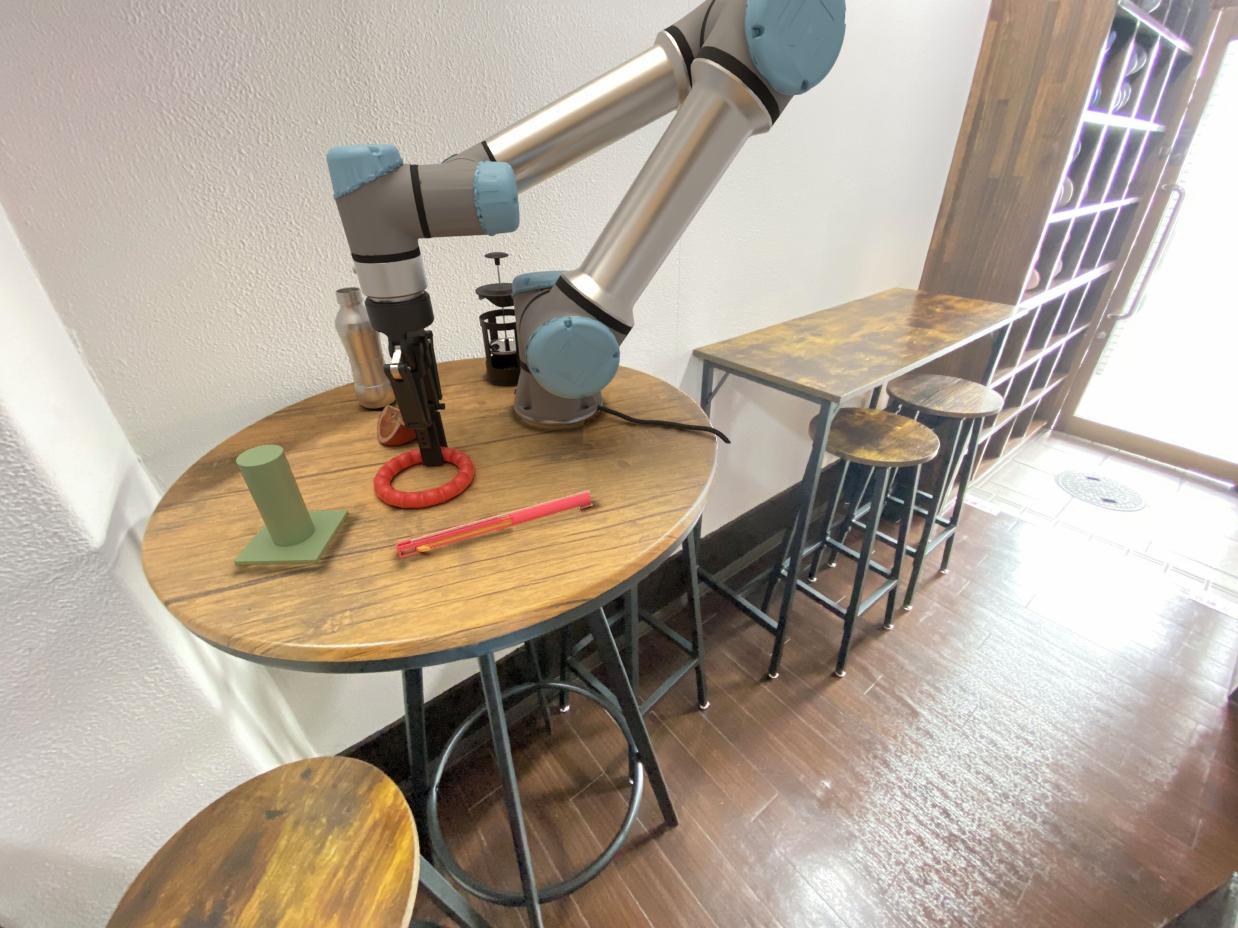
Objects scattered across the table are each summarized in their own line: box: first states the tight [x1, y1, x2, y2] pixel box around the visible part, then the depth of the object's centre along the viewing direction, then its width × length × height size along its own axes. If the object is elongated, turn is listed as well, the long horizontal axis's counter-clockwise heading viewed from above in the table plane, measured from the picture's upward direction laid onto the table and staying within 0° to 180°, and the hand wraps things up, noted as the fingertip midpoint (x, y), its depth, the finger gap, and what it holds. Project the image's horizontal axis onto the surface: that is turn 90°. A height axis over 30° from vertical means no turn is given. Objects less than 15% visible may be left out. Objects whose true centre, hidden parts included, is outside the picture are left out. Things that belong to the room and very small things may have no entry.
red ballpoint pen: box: [395, 489, 593, 558], centre depth 65 cm, size 24×2×5 cm
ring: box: [372, 446, 476, 509], centre depth 72 cm, size 13×13×2 cm
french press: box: [474, 251, 521, 387], centre depth 99 cm, size 12×9×23 cm
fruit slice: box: [376, 404, 417, 447], centre depth 83 cm, size 8×7×5 cm
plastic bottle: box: [334, 286, 396, 409], centre depth 89 cm, size 6×7×20 cm
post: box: [233, 444, 350, 566], centre depth 60 cm, size 9×9×12 cm
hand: (436, 457), depth 77 cm, fingers closed on ring, 2 cm apart
